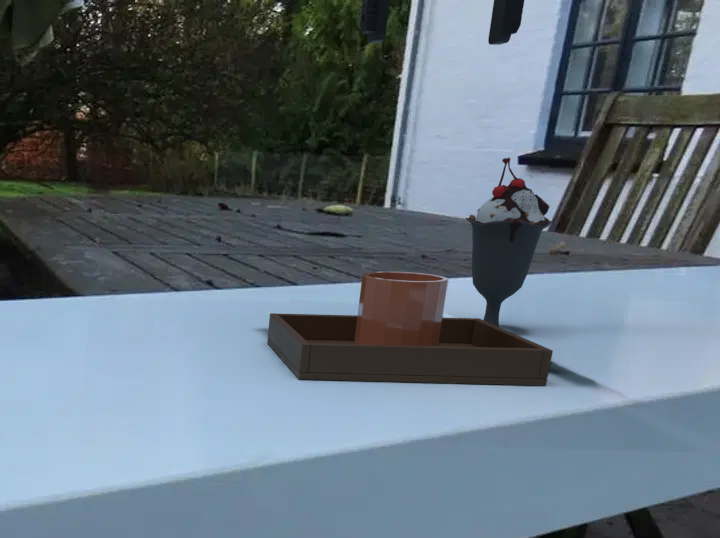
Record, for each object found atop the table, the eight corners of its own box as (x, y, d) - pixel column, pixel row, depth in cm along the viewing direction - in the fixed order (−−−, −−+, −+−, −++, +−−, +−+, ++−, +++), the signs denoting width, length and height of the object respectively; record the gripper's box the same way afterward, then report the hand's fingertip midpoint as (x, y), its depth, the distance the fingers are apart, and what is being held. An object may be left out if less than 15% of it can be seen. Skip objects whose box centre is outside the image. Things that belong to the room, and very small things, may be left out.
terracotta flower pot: (421, 349, 73) (432, 272, 71) (447, 365, 67) (460, 282, 66) (345, 347, 73) (354, 270, 71) (365, 363, 68) (375, 280, 66)
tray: (474, 348, 77) (479, 318, 76) (546, 385, 64) (553, 350, 63) (267, 343, 77) (269, 313, 76) (298, 379, 65) (302, 344, 64)
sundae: (449, 345, 78) (479, 156, 73) (444, 331, 84) (471, 156, 79) (534, 351, 76) (571, 158, 71) (523, 337, 82) (556, 158, 77)
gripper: (377, -262, 56) (348, 35, 61) (616, -261, 55) (565, 37, 61) (346, -215, 63) (323, 47, 68) (558, -214, 62) (517, 49, 68)
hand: (437, 42), depth 64 cm, fingers open, 8 cm apart
